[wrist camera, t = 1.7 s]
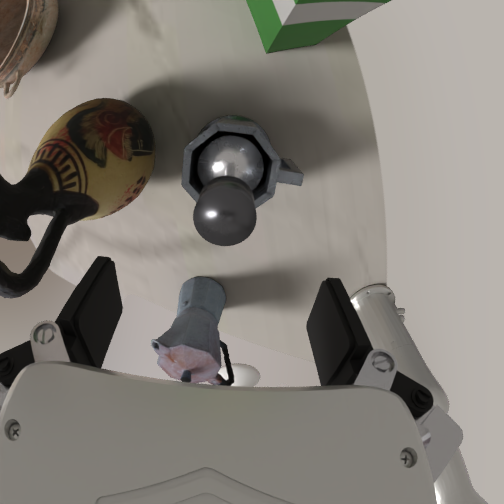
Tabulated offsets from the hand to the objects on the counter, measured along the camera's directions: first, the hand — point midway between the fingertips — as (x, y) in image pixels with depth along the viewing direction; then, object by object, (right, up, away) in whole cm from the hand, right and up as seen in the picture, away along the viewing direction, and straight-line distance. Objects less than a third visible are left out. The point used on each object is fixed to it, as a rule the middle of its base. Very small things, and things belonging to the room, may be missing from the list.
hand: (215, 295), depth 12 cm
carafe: (0, +16, +26) cm, 31 cm away
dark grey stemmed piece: (-1, +11, +18) cm, 21 cm away
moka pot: (-7, -6, +39) cm, 41 cm away
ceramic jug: (-18, +18, +25) cm, 35 cm away
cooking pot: (-36, +39, +10) cm, 55 cm away
